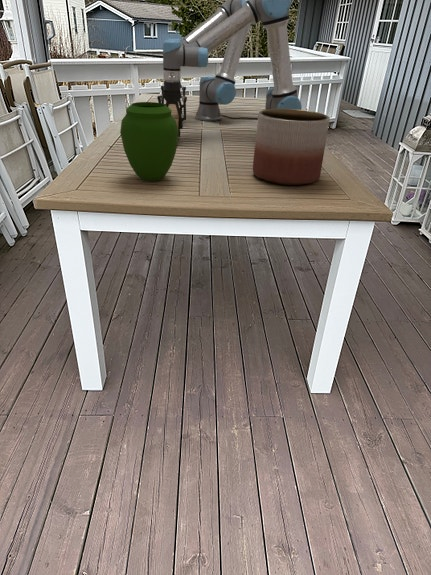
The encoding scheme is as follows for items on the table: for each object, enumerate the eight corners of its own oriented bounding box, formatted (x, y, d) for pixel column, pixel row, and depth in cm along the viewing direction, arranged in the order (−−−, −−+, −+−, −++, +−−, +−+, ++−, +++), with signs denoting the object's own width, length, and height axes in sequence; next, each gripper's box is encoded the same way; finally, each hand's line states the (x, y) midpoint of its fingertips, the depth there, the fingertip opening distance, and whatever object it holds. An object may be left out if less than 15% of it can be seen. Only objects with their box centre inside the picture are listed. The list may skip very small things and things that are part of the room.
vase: (131, 189, 135) (125, 110, 122) (118, 172, 150) (112, 100, 137) (186, 184, 142) (187, 109, 129) (169, 168, 157) (167, 99, 144)
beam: (169, 118, 232) (168, 102, 228) (178, 119, 233) (178, 102, 228) (166, 140, 186) (165, 120, 182) (178, 140, 187) (178, 120, 182)
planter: (329, 187, 147) (342, 121, 135) (261, 187, 143) (268, 120, 131) (305, 166, 168) (314, 109, 156) (245, 167, 164) (250, 107, 152)
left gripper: (155, 73, 209) (156, 121, 222) (191, 74, 211) (190, 122, 223) (155, 71, 216) (157, 118, 228) (190, 73, 217) (190, 119, 230)
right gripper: (150, 81, 177) (152, 137, 189) (193, 83, 178) (192, 138, 191) (151, 79, 183) (153, 133, 195) (192, 81, 185) (192, 134, 197)
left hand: (173, 120), depth 226 cm, fingers closed on beam, 5 cm apart
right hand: (172, 135), depth 193 cm, fingers closed on beam, 5 cm apart
